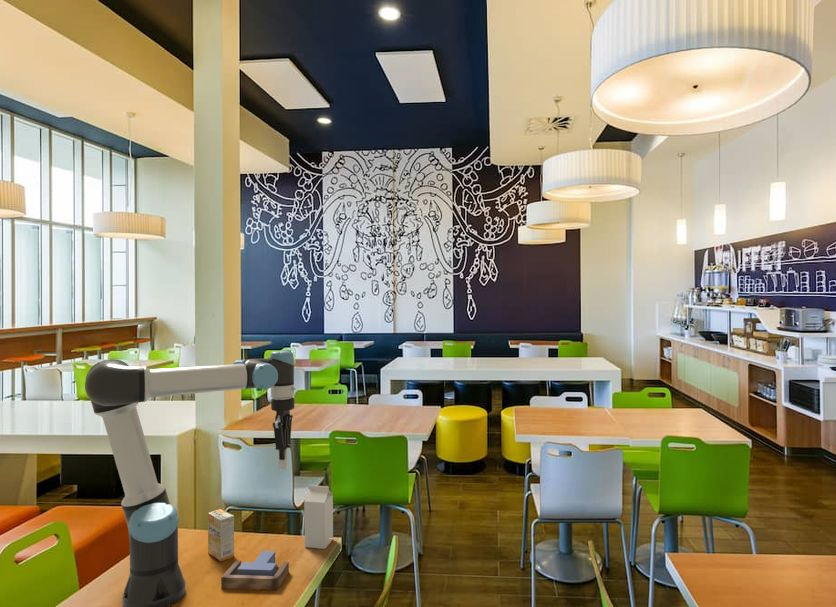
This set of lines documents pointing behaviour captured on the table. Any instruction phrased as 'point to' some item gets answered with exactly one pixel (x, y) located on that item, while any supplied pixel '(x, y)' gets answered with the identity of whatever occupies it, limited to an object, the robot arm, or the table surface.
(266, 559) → the slate blue t block
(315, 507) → the milk carton
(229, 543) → the supplement box
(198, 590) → the table surface
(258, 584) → the walnut dock
